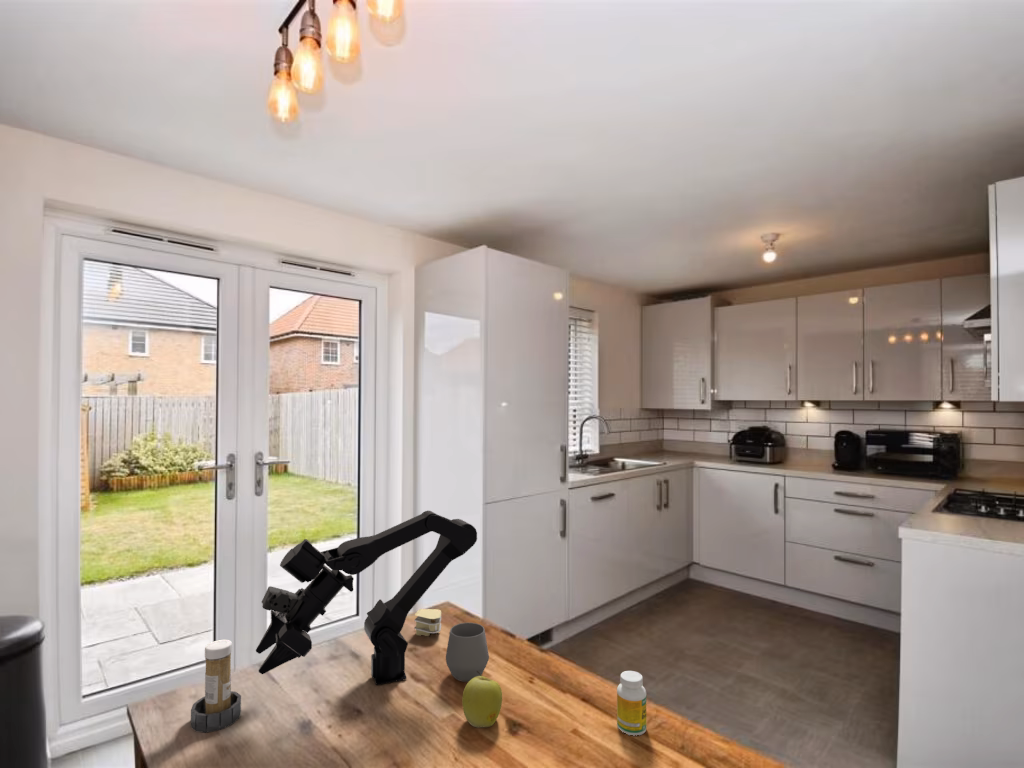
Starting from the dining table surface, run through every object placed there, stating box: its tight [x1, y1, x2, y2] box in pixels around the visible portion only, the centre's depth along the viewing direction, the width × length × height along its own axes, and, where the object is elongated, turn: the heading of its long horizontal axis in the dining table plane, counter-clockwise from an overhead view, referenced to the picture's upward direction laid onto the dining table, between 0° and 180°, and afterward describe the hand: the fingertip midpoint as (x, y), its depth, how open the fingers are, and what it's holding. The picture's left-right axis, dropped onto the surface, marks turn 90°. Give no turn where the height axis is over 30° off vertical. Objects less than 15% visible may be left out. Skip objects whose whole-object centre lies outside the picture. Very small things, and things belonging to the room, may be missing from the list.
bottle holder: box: [190, 690, 242, 734], centre depth 103 cm, size 8×8×3 cm
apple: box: [461, 671, 503, 728], centre depth 103 cm, size 8×8×10 cm
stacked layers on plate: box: [413, 608, 442, 637], centre depth 140 cm, size 10×9×6 cm
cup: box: [445, 622, 490, 683], centre depth 119 cm, size 10×9×10 cm
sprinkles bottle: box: [204, 639, 233, 714], centre depth 103 cm, size 5×5×14 cm
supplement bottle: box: [616, 670, 647, 737], centre depth 100 cm, size 5×5×10 cm
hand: (258, 662), depth 107 cm, fingers open, 9 cm apart
